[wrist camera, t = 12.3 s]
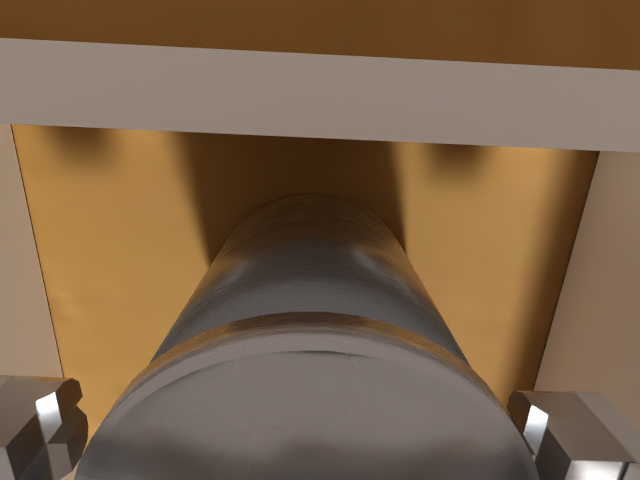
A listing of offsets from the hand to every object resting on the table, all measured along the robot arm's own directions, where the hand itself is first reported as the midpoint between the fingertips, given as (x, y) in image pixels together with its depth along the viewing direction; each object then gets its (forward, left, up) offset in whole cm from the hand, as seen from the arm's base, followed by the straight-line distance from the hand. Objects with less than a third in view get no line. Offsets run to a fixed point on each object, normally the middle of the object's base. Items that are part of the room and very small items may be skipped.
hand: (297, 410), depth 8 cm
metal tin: (0, 0, -4) cm, 4 cm away
